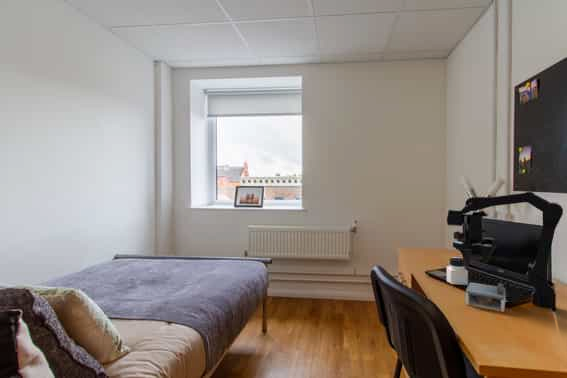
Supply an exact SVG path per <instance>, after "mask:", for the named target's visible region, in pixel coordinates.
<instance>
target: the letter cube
mask: <svg viewBox="0 0 567 378" xmlns="http://www.w3.org/2000/svg"><path fill="white" fill-rule="evenodd" d="M479 304H480V305H486V306H492V297H487V296H481V295H479Z"/></svg>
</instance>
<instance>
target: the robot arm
mask: <svg viewBox="0 0 567 378" xmlns="http://www.w3.org/2000/svg"><path fill="white" fill-rule="evenodd" d="M521 203H522V204H525V203H528V204H530V205H531V206H533V207H534V208H536V209H537V210H539V211H541V213H542V229H541V234H540V238H539V243H538V248H537V253H536V257H535V261H534V262H533V264H532V263H531V262H529V263H528V266H527V267H528V268H527V270H528V271H527V272H526V276H525V277H526V278H527V282H528V283H529V285H531V286H532V287H533V291H532V292H531V304H532V305H533V306H537V307H540V308H544V309H551V310H552V312H557V304H556V303H557V292H556V290H555V289H556V284H555V283H554V282H553V281H552V280H551V279H550V278H549V273H548V272H549V270H548V269H549V266H548V264H549V259H550V255H551V254H550V253H551V250H552V244H553V241H554V237H555V236H554V235H555V232H556V228H557V227H558V224H559V222H560V220H561V218H562V216H563V213H564V209H563V207H562V205H561V204H559V203H558V202H550V201H548V200H547V199H545V198H543V197H541V196H539V195H537V194H535V192H533V191H526V192H520V193H513V194H505V195H498V196H497V195H496V196H472V197H469V198H467V200H466V201H465V206H464V207H463V208H462V209H461V210H455V209H449V210H448V211H447V217H446V224H447V226H451V227H452V226H453V227H463V226H464V225H466V224H467V225H466V227H467V228H465V229H464V232H460V231H453V239H454V241H453V242H452V248H454V249H456V250H458V251H459V252H460V253H461V255H462V257H463V258H462V259H464V260H465V265H466V266H469V265H470V262H471V258H472V252H473V249H471V248H472V247H476V246H479V247H480V249H481V250H482V251H481V252H482V260H483V261H482V262H483V263H484V264H487V262H488V261H489V259H490V257H491V255H492V254H493V252H494V250H495V249H497V247H499V246H500V244H499V243H500V242H499V240H498V239H497V238H493V237H484V233H486V232H487V229H485V228H484V218H483V217H488V216H489V214H488V213H487V212H486V211H485V210H483V209H487V208H488V209H489V208H491V207H497V206H505V205H515V204H521ZM479 210H480V211H479ZM470 212H472V213H470Z"/></svg>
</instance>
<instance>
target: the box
mask: <svg viewBox="0 0 567 378" xmlns="http://www.w3.org/2000/svg"><path fill="white" fill-rule="evenodd" d="M495 300H499V301H501V302H498V301H495ZM465 306H471V307H476V308H482V309H487V310H492V311H498V312H502V313H503V312H505V307H506V295H505V296H504V299H498V298H493V297H492V306H486V305H480V304H479V295H475V294H470V293H466V292H465Z"/></svg>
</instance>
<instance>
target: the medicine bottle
mask: <svg viewBox="0 0 567 378" xmlns="http://www.w3.org/2000/svg"><path fill="white" fill-rule="evenodd" d="M465 265H466V263H465V260H464V258H462V257H455V256H454V257H453V256H452V257H450V258H449V266H448V265H447V266H446V282H447V283H450V285H463V286H468V285H469V271H468V269H466V268H465Z"/></svg>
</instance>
